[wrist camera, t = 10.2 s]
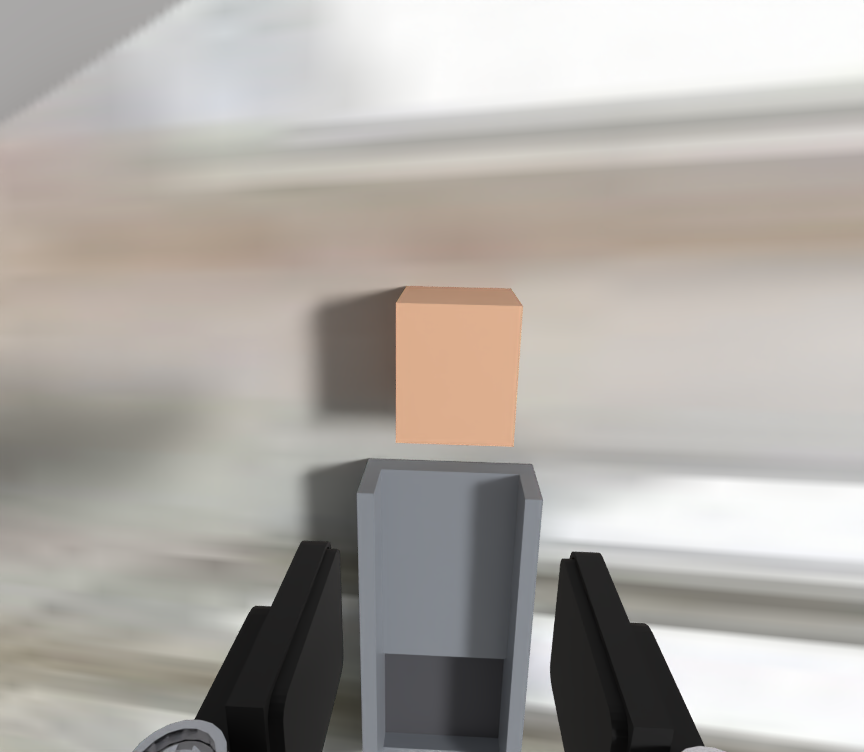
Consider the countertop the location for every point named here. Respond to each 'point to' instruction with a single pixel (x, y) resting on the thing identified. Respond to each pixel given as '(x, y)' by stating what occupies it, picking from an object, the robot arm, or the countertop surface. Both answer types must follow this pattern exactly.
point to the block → (457, 365)
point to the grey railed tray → (446, 603)
